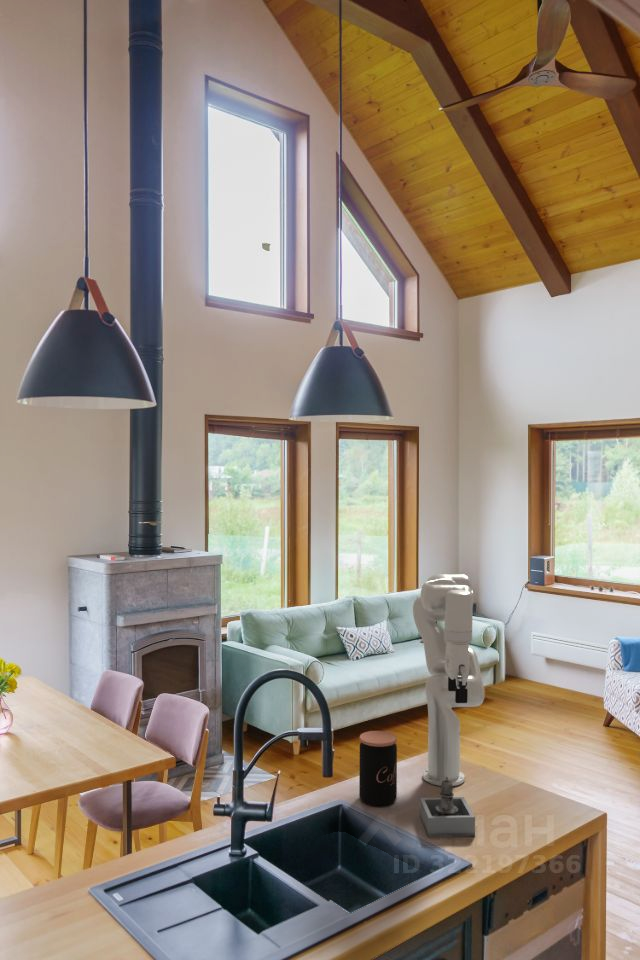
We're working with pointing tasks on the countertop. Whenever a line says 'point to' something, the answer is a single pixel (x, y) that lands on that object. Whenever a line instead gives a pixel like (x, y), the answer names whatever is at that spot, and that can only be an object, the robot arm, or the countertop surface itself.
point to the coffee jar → (378, 768)
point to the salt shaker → (446, 800)
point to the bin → (447, 819)
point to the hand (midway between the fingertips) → (457, 696)
